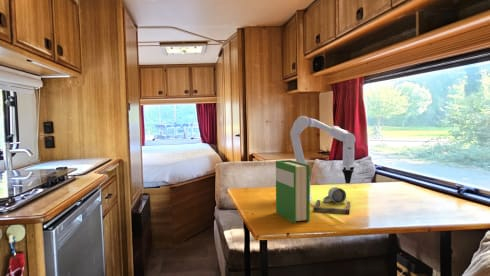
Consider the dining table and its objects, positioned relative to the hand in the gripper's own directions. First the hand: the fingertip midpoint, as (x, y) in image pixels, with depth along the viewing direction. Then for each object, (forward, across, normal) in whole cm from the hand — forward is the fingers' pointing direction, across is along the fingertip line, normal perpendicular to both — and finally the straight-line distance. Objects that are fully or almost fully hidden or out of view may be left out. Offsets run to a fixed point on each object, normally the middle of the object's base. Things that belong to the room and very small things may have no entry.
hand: (348, 181), depth 189 cm
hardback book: (+10, -39, +22) cm, 46 cm away
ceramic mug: (+10, -6, +6) cm, 13 cm away
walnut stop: (+10, -20, +6) cm, 23 cm away
